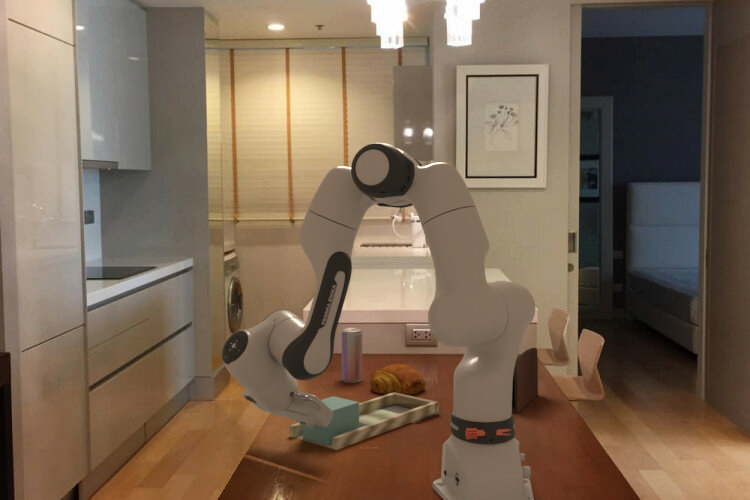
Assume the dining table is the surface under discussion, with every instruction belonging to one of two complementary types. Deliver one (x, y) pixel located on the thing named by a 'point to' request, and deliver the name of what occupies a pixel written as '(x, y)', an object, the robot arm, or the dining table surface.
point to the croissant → (397, 380)
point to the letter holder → (525, 379)
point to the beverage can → (351, 355)
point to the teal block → (335, 421)
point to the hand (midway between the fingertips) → (309, 424)
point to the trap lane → (379, 418)
